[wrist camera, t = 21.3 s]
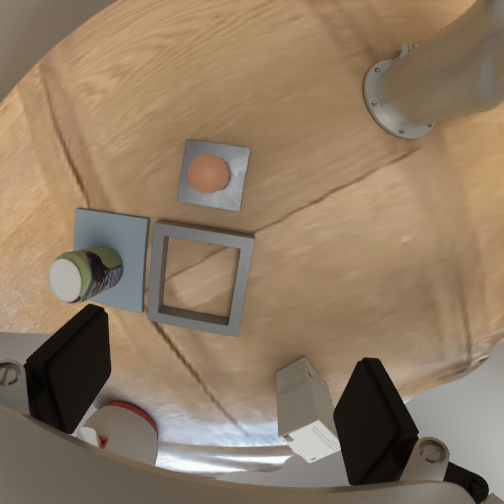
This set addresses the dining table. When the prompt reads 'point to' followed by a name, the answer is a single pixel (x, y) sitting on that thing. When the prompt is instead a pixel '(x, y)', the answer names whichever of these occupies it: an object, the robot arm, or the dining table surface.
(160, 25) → the dining table surface
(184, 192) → the button base
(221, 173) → the button
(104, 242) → the mat
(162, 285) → the frame
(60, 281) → the beverage can
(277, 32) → the dining table surface
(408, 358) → the dining table surface
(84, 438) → the citrus juicer
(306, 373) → the skincare box
